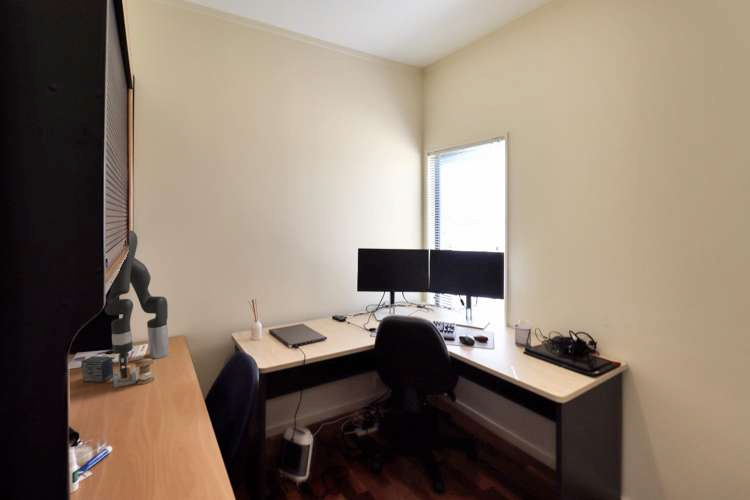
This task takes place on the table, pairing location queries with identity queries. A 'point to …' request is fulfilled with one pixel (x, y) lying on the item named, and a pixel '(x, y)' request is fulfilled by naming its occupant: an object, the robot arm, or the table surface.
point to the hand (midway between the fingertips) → (125, 374)
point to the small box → (97, 369)
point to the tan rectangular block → (127, 373)
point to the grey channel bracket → (126, 382)
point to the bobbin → (144, 371)
